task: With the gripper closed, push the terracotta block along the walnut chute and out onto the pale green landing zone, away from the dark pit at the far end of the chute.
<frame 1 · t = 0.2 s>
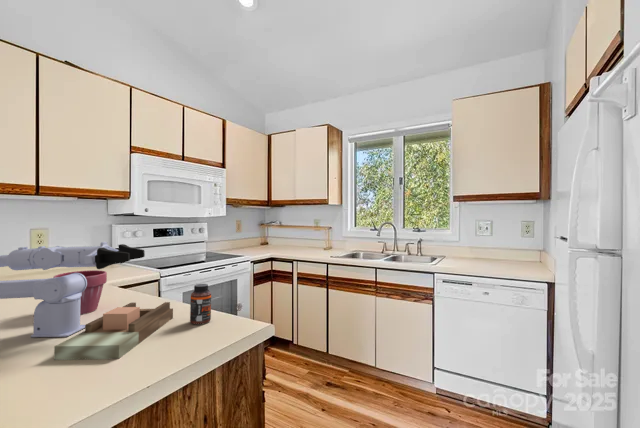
hand: (136, 255, 85), 21 cm above the worktop, tool horizontal, fingers open, 7 cm apart
chute: (124, 335, 82), on the worktop
block: (121, 325, 81), point 3 cm above the worktop, touching chute
plant pot: (80, 312, 102), on the worktop
supplement bottle: (200, 322, 92), on the worktop
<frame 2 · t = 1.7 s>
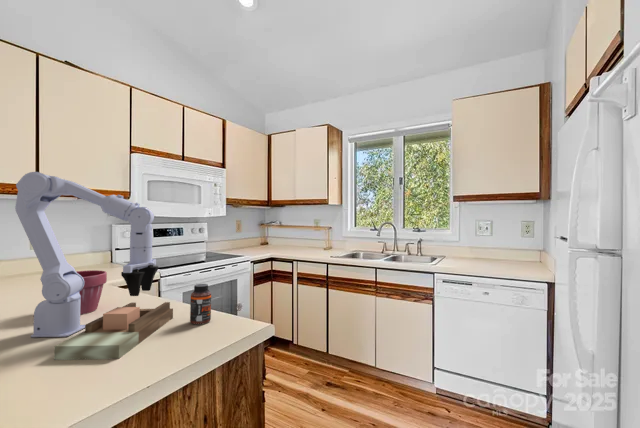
hand: (140, 293, 90), 9 cm above the worktop, tool pointing down, fingers open, 6 cm apart
nothing on the worktop moved.
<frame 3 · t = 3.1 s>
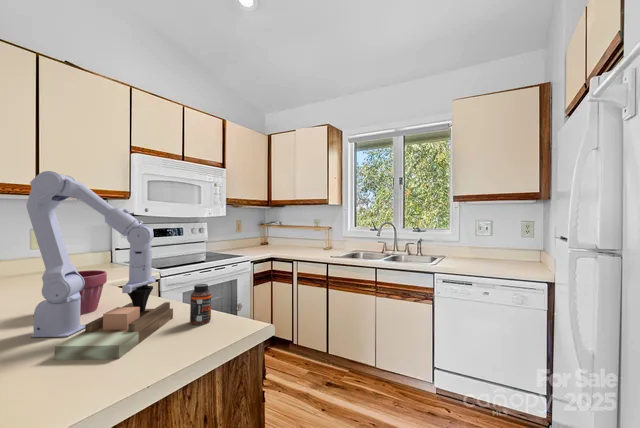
hand: (139, 311, 89), 4 cm above the worktop, tool pointing down, fingers closed
nothing on the worktop moved.
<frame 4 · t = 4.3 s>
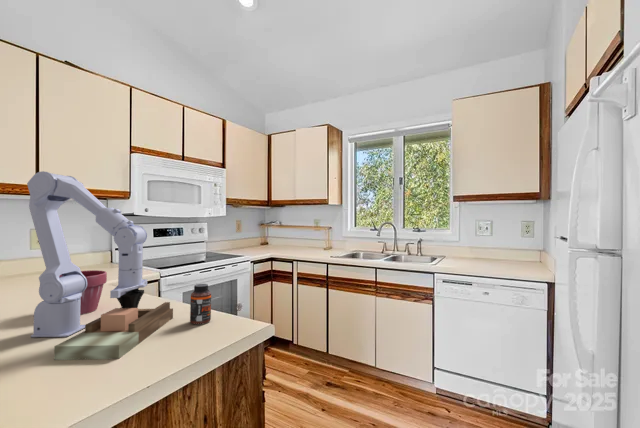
hand: (129, 317, 84), 4 cm above the worktop, tool pointing down, fingers closed
nothing on the worktop moved.
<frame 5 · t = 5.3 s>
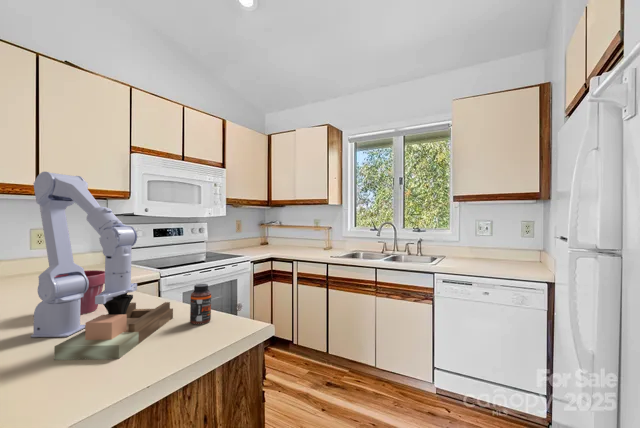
hand: (117, 324, 79), 4 cm above the worktop, tool pointing down, fingers closed
block: (106, 334, 74), point 3 cm above the worktop, touching chute, gripper
everything else where it was.
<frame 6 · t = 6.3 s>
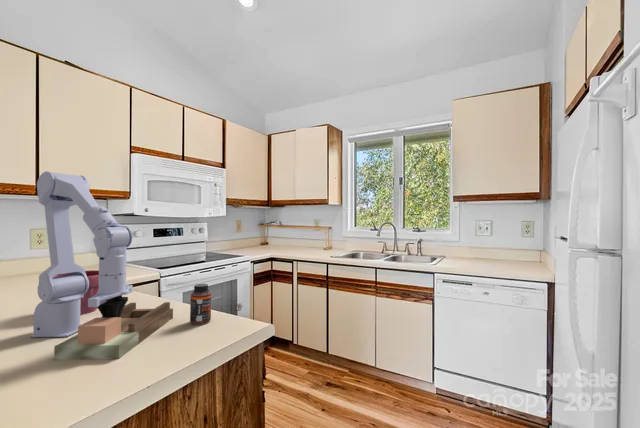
hand: (111, 327, 76), 4 cm above the worktop, tool pointing down, fingers closed
block: (100, 338, 72), point 3 cm above the worktop, touching chute, gripper
everything else where it was.
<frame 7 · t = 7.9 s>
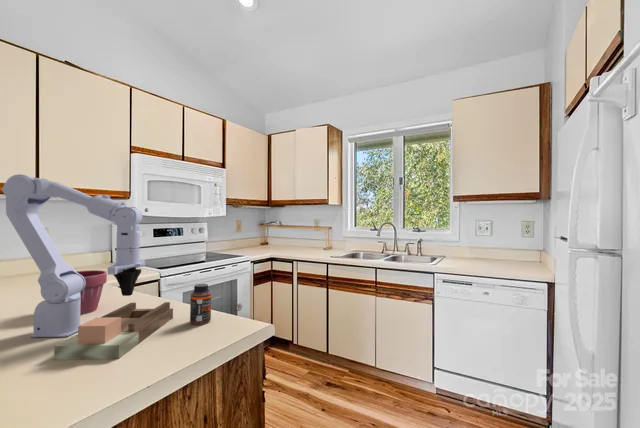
hand: (127, 295, 87), 9 cm above the worktop, tool pointing down, fingers closed
block: (100, 338, 72), point 3 cm above the worktop, touching chute
everything else where it was.
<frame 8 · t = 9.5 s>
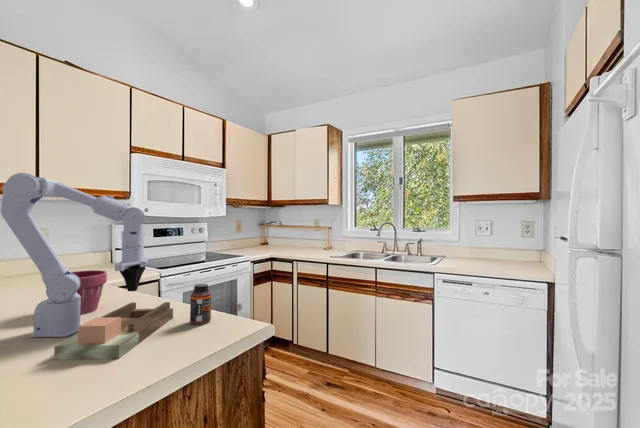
hand: (132, 290, 93), 9 cm above the worktop, tool pointing down, fingers closed
nothing on the worktop moved.
at the end: block inside the target area on the chute (0.9 cm from its centre), point 3.0 cm above the chute's base; block tilted 0°; the gripper is holding nothing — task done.
